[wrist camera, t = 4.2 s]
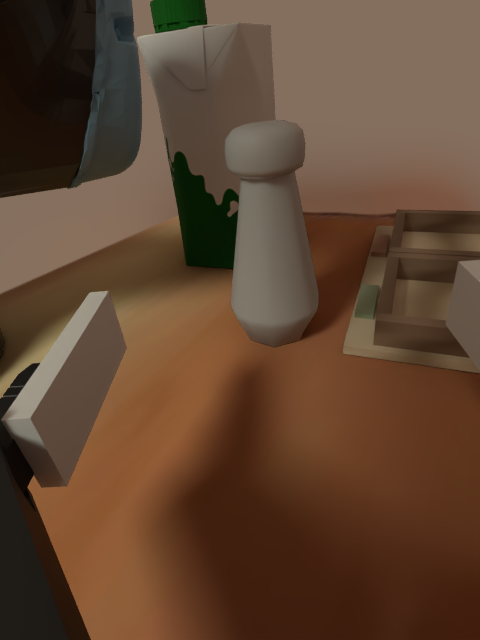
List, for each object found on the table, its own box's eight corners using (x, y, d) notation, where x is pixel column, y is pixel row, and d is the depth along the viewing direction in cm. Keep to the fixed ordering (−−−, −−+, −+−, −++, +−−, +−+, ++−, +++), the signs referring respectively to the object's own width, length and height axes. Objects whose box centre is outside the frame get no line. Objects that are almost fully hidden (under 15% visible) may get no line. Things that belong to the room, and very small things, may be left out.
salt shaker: (242, 306, 31) (220, 120, 24) (318, 306, 30) (318, 110, 23) (228, 354, 26) (196, 137, 19) (318, 355, 25) (320, 127, 18)
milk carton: (209, 234, 45) (176, 7, 34) (289, 237, 42) (280, -11, 31) (173, 269, 38) (116, 0, 27) (265, 276, 35) (242, -25, 24)
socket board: (342, 353, 25) (344, 321, 24) (376, 231, 40) (378, 207, 39) (566, 385, 21) (582, 349, 20) (508, 236, 36) (515, 210, 35)
